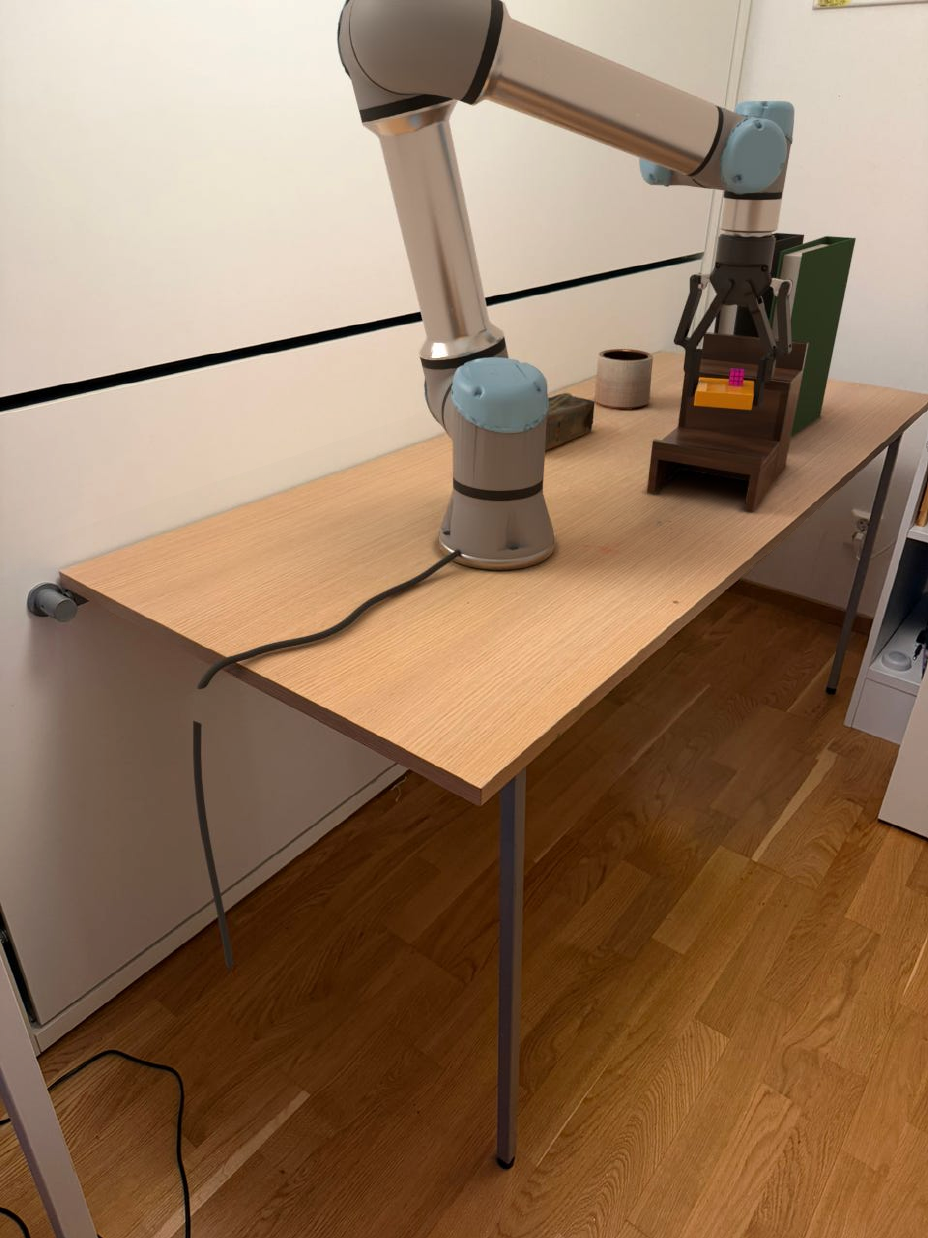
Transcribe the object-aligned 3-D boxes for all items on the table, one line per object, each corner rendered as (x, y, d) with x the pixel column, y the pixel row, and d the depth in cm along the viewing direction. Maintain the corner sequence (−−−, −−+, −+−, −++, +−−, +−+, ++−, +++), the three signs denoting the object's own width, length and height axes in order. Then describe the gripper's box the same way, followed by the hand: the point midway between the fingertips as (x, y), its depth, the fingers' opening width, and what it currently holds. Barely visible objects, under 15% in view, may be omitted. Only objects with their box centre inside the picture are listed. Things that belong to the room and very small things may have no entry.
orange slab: (751, 410, 127) (756, 380, 125) (693, 405, 129) (697, 376, 127) (752, 395, 134) (756, 367, 131) (697, 391, 135) (700, 363, 133)
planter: (584, 399, 183) (587, 351, 178) (628, 393, 187) (633, 346, 182) (613, 412, 174) (617, 363, 170) (659, 406, 178) (664, 357, 174)
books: (773, 453, 153) (809, 253, 138) (691, 437, 160) (716, 246, 145) (819, 416, 172) (855, 237, 157) (745, 404, 180) (772, 232, 164)
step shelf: (752, 512, 130) (776, 373, 120) (646, 492, 136) (661, 360, 127) (785, 466, 147) (808, 342, 138) (690, 450, 154) (706, 331, 144)
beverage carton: (594, 432, 163) (597, 396, 160) (533, 459, 150) (535, 420, 147) (558, 423, 167) (560, 388, 164) (496, 449, 154) (496, 411, 151)
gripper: (836, 234, 118) (804, 402, 129) (677, 226, 128) (660, 384, 139) (826, 240, 113) (794, 415, 124) (661, 231, 122) (644, 395, 133)
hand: (723, 399), depth 131 cm, fingers closed on orange slab, 9 cm apart
